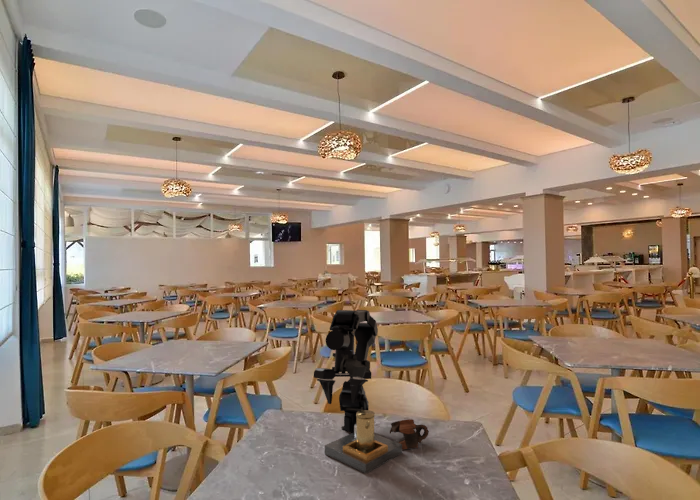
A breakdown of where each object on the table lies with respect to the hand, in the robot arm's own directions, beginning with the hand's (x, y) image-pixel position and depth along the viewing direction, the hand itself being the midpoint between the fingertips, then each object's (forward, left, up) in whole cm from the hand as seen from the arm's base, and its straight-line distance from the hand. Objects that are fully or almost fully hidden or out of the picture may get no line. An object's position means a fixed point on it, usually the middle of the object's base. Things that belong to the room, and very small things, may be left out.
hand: (341, 403), depth 124 cm
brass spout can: (+2, +12, -13) cm, 18 cm away
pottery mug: (-16, +13, -13) cm, 25 cm away
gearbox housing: (-1, +8, -13) cm, 15 cm away
